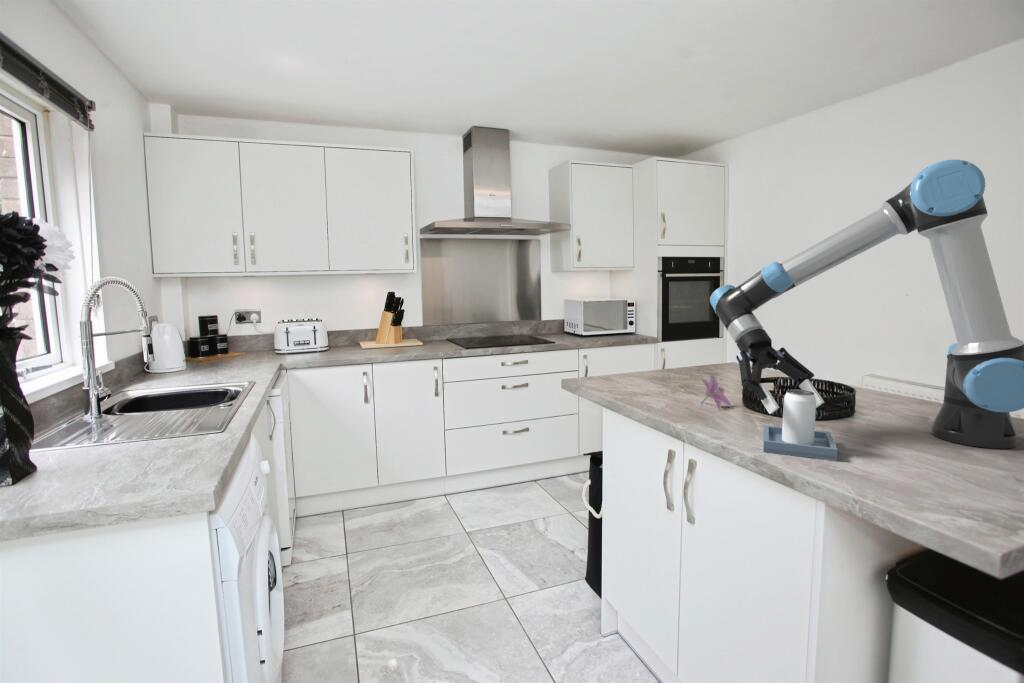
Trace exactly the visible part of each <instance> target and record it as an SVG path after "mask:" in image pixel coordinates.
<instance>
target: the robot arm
mask: <svg viewBox="0 0 1024 683" xmlns="http://www.w3.org/2000/svg"><path fill="white" fill-rule="evenodd" d="M985 188H986V177H985V175H984V173H983V171H982V170H981V168H980V167H978V166H977V165H975V164H974V163H973V162H970V161H968V160H963V159H945V160H941V161H938V162H935V163H933V164H931V165H929V166H927V167H925V168H923V169H921V171H919V173H917V175H916V176H914V178H913V180H912V181H911V182H910V183H909V184H908V185H907V186H906V187H905V188H904V189H902V190H901V191H900V192H898V193H897V194H895V195H894V196H892V197H890V198H888V199H887V200H885V201H883V203H882V204H881V207H880V208H879V209H877V210H875V211H873V212H871V213H869V214H868V215H866V216H864V217H862V218H860V219H859V220H857V221H855V222H854V223H852V224H850V225H847V226H846V227H844V228H843V229H841V230H839V231H837V232H835V233H833V234H831V235H830V236H828V237H826V238H824V239H822V240H820V241H819V242H817V243H815V244H814V245H812V246H810V247H808V248H806V249H804V250H802V251H800V252H799V253H797V254H795V255H794V256H791V257H790V258H788V259H786V260H784V261H782V262H781V263H779V262H778V261H773V262H771V263H770V264H769V265H767V266H763V267H762V268H761V270H759V271H758V272H756V273H755V274H754V275H752V276H751V277H750V278H748V279H747V280H745V281H744V282H742V283H741V284H739V285H738V286H734V285H732V284H725V285H723V286H719V287H718V288H716V289H715V290H714V291H713V292H712V293H711V295H710V297H709V302H710V305H711V307H712V308H713V310H714V313H715V314H716V316H718V318H719V320H720V321H721V323H722V325H723V326H724V327H725V330H726V331H727V332H728V333H729V335H730V336H731V339H732V340H733V341H734V343H735V344H736V346H737V348H738V350H739V351H740V352H738V354H736V356H735V358H736V360H737V362H738V365H739V373H740V381H741V386H742V388H743V389H746V388H747V390H748V392H752V391H753V393H754V394H755V395H756V397H757V399H758V400H759V401H761V403H762V405H763V406H764V408H765V409H766V411H767V412H768V414H769V415H771V414H772V415H773V414H774V412H776V411H777V410H778V409H780V406H779V404H778V403H777V401H776V400H775V398H774V397H773V395H772V393H771V392H770V390H769V389H768V388H767V386H766V384H765V382H764V383H761V379H762V372H763V370H765V369H773V370H775V371H779V372H781V373H782V374H784V375H786V376H787V377H789V378H791V379H792V380H794V381H796V383H798V384H799V385H798V387H799V388H800V390H807V391H812V392H814V396H815V399H816V409H818V408H819V407H820V406H822V405H823V404H824V403H825V401H824V399H823V398H822V395H820V393H819V392H818V389H817V388H816V386H815V385H814V384H813V382H812V381H811V379H813V378H814V377H815V374H814V372H812V371H811V370H810V369H809V368H807V367H806V366H805V365H803V364H802V363H801V362H800V361H798V360H797V358H795V357H794V356H793V355H791V354H790V353H789V352H788V350H786V348H785V347H780V348H779V349H777V350H776V349H775V348H774V347H773V345H772V344H773V341H772V339H771V337H770V335H769V334H768V333H767V331H766V330H765V329H764V326H763V325H762V324H761V322H760V321H759V320H758V318H757V317H756V315H755V314H754V311H755V310H758V309H759V308H761V306H763V305H765V304H766V303H768V302H769V301H771V300H773V299H777V298H778V297H780V296H782V295H783V294H785V293H786V292H788V291H790V290H792V289H794V288H795V287H798V286H799V285H802V284H804V283H806V282H807V281H810V280H812V279H813V278H815V277H818V276H819V275H822V274H823V273H825V272H827V271H829V270H831V269H833V268H836V267H837V266H838V265H840V264H841V265H842V264H843V263H844V262H846V261H848V260H850V259H853V258H854V257H856V256H858V255H861V254H863V253H865V252H866V251H868V250H870V249H872V248H874V247H875V246H878V245H880V244H881V243H883V242H885V241H887V240H890V239H891V238H893V237H895V236H897V235H903V236H904V235H905V236H906V235H908V234H910V233H912V232H914V231H917V234H918V235H920V236H922V237H925V238H926V239H928V240H929V243H930V247H931V251H932V255H933V260H934V262H935V266H936V270H937V273H938V277H939V279H940V284H941V288H942V290H943V295H944V299H945V302H946V305H947V308H948V312H949V315H950V316H949V317H950V319H951V323H952V327H953V331H954V334H955V338H956V343H952V344H951V345H949V346H948V352H947V354H946V360H947V361H946V371H945V372H946V373H945V382H944V384H945V385H944V394H943V403H942V406H941V407H940V410H939V411H938V413H937V415H936V417H935V419H934V420H933V422H932V424H931V434H932V435H933V436H935V437H936V438H939V439H940V440H944V441H947V442H952V443H954V444H959V445H965V446H971V447H978V448H987V449H1012V448H1016V447H1017V442H1018V435H1017V432H1016V429H1015V426H1014V422H1013V419H1012V417H1011V413H1013V412H1017V411H1020V410H1022V409H1023V410H1024V341H1023V340H1022V339H1019V338H1017V337H1015V336H1013V335H1012V334H1011V329H1010V327H1009V322H1008V319H1007V316H1006V312H1005V308H1004V304H1003V301H1002V297H1001V294H1000V290H999V286H998V283H997V280H996V279H997V278H996V276H995V272H994V269H993V265H992V262H991V257H990V254H989V251H988V246H987V244H986V240H985V237H984V234H983V233H984V232H983V228H982V224H983V222H984V221H985V220H986V218H988V216H989V214H988V210H987V206H986V203H985V200H984V196H983V195H984V194H985V190H986V189H985ZM751 363H752V364H751Z"/></svg>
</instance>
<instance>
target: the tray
mask: <svg viewBox="0 0 1024 683" xmlns="http://www.w3.org/2000/svg"><path fill="white" fill-rule="evenodd" d="M763 453H769V454H775V455H777V454H778V455H784V456H785V455H786V456H794V457H801V456H802V458H808V457H810V458H809V459H816V458H818V460H824V459H828V460H827V461H832V460H834V461H833V462H837V461H838V448H837V445H836V443H835V440H834V439H833V435H832V434H831V432H830V431H822V430H815V431H814V443H813V444H812V445H804V444H795V443H787V442H783V440H782V426H774V425H765V424H764V425H763Z"/></svg>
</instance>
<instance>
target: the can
mask: <svg viewBox="0 0 1024 683" xmlns="http://www.w3.org/2000/svg"><path fill="white" fill-rule="evenodd" d="M782 406H783V408H782V409H783V410H782V425H781V427H782V440H783V442H787V443H795V444H804V445H812V444H813V443H814V431H816V429H815V428H816V412H817V408H816V399H815V396H814V392H812V391H807V390H801V389H796V388H795V389H794V388H793V389H787V390H786V393H785V395H784V396H783V405H782Z"/></svg>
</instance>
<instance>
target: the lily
mask: <svg viewBox="0 0 1024 683" xmlns="http://www.w3.org/2000/svg"><path fill="white" fill-rule="evenodd" d="M716 378H717V377H715V375H714V373H713V372H711V373H710V378H709V381H708V380H707V379H705V378H702V377H701V378H700V380H701V381H702V383H703V384H704V386H705V387H706V389H707V390H706V392H705V394H704V395H705V398H704V399H703V400H702V402H701V403H700V404H702V405H703V403H704V402H705V401H706V400H707V399H708V398H709V399H713V401H714V403H715V405H716V408H717V409H718V410H719V409H720V410H721V409H722V404H723V405H726V406H728V407H730V408H731V406H732V404H731V402H730V400H729V399H728V398H727V397H726V395H724V394H725V392H726V391H725V388H724V387H722V386H719V383H718V380H717V379H716ZM732 407H733V406H732Z"/></svg>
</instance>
